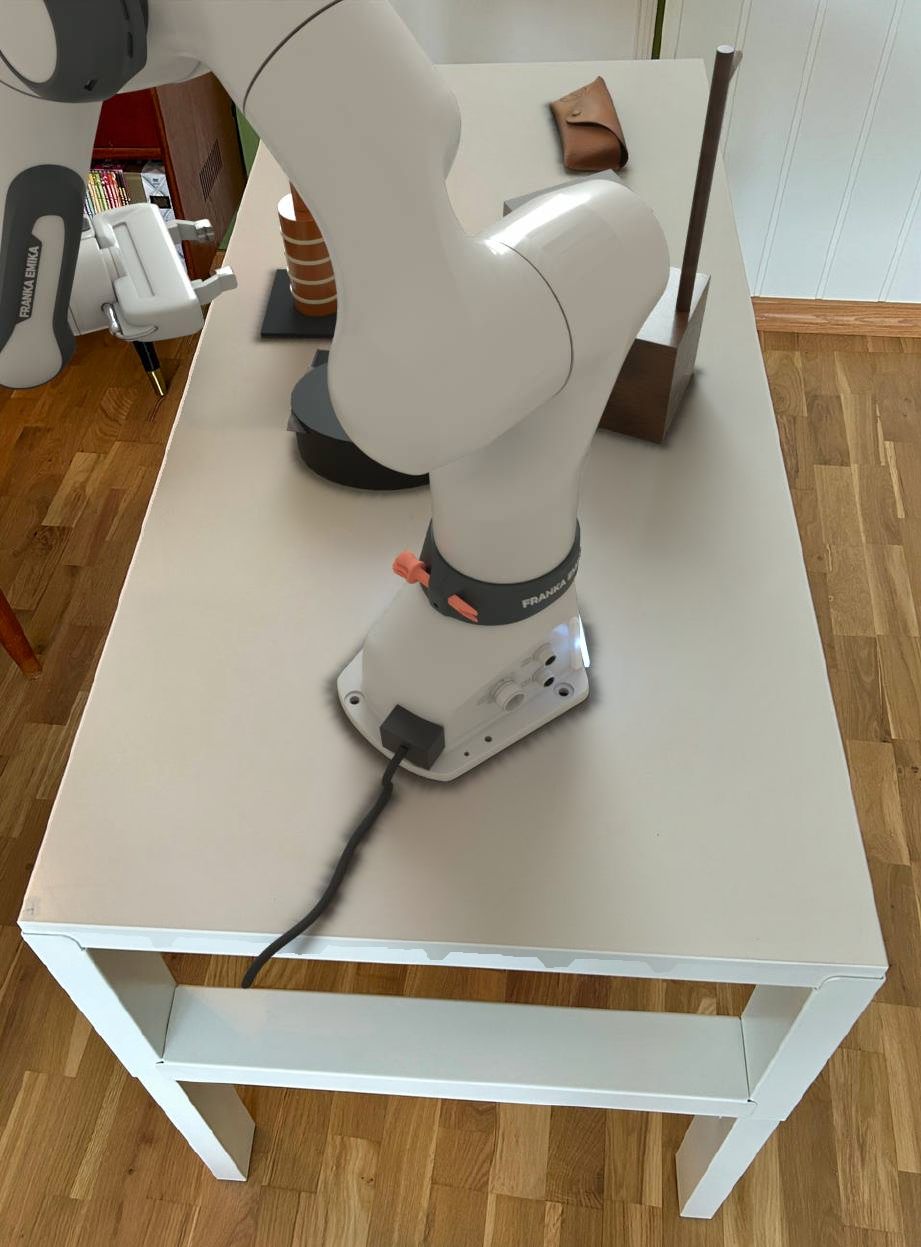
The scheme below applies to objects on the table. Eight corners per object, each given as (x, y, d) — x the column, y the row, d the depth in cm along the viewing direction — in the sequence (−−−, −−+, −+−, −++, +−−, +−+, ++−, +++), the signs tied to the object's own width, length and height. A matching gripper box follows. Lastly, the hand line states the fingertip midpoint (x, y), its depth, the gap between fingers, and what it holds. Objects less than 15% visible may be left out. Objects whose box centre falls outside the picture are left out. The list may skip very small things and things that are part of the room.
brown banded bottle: (302, 323, 121) (279, 195, 108) (286, 292, 124) (262, 165, 112) (355, 309, 122) (339, 181, 110) (337, 278, 125) (320, 151, 113)
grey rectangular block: (541, 272, 126) (648, 237, 130) (543, 246, 123) (653, 211, 127) (502, 228, 131) (607, 195, 135) (503, 201, 128) (610, 168, 132)
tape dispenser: (460, 506, 105) (464, 449, 99) (281, 482, 106) (274, 424, 100) (479, 410, 114) (484, 353, 108) (314, 388, 115) (309, 331, 109)
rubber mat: (367, 338, 120) (366, 334, 119) (261, 337, 120) (260, 333, 120) (377, 274, 127) (377, 269, 126) (277, 273, 127) (276, 268, 127)
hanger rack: (549, 415, 111) (568, 61, 83) (587, 345, 118) (616, -4, 89) (661, 444, 108) (721, 87, 80) (693, 371, 115) (759, 18, 86)
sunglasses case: (544, 101, 149) (571, 57, 145) (585, 123, 152) (613, 80, 148) (564, 170, 138) (593, 125, 134) (608, 192, 141) (638, 149, 137)
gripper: (104, 317, 103) (244, 280, 106) (67, 207, 114) (194, 177, 117) (122, 369, 108) (255, 333, 111) (85, 258, 119) (206, 229, 122)
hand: (223, 252), depth 114 cm, fingers open, 8 cm apart
